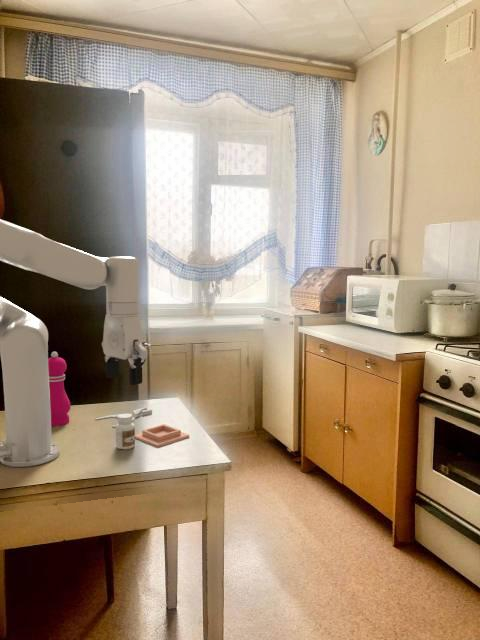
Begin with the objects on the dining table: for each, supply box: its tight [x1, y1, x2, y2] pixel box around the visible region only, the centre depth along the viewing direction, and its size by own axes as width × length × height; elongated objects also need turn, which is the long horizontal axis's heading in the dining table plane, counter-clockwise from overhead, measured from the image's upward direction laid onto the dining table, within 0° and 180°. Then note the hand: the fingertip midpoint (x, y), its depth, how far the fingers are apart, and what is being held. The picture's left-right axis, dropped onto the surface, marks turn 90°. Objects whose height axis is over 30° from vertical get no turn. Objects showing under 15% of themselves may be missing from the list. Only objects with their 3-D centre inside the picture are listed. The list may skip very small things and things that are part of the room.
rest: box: [135, 424, 190, 448], centre depth 131 cm, size 10×10×2 cm
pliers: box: [94, 406, 153, 429], centre depth 147 cm, size 10×2×15 cm
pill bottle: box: [115, 413, 136, 450], centre depth 125 cm, size 4×4×8 cm
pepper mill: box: [48, 351, 71, 427], centre depth 142 cm, size 7×7×20 cm
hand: (124, 380), depth 123 cm, fingers open, 9 cm apart
